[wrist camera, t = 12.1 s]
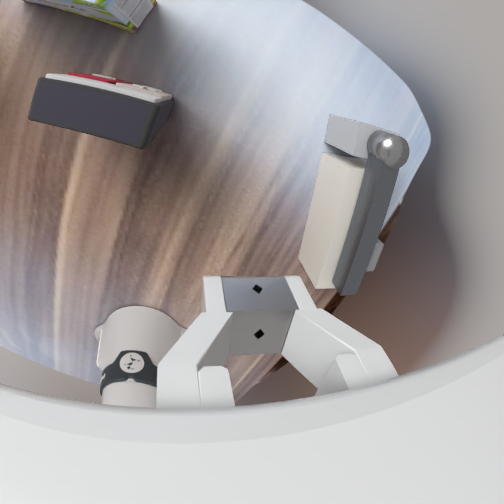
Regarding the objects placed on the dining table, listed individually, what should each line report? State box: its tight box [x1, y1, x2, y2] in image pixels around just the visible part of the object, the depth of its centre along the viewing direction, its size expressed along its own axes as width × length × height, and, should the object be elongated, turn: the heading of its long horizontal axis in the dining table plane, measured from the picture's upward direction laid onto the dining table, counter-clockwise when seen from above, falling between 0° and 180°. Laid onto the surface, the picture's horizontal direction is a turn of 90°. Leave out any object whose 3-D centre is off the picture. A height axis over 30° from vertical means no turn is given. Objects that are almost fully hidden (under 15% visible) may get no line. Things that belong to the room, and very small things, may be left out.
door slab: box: [298, 152, 384, 289], centre depth 37 cm, size 17×6×11 cm, turn 172°
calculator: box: [28, 72, 175, 149], centre depth 22 cm, size 11×4×15 cm, turn 65°
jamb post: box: [324, 114, 400, 159], centre depth 32 cm, size 4×6×8 cm, turn 82°
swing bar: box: [332, 130, 409, 295], centre depth 32 cm, size 21×4×3 cm, turn 172°
